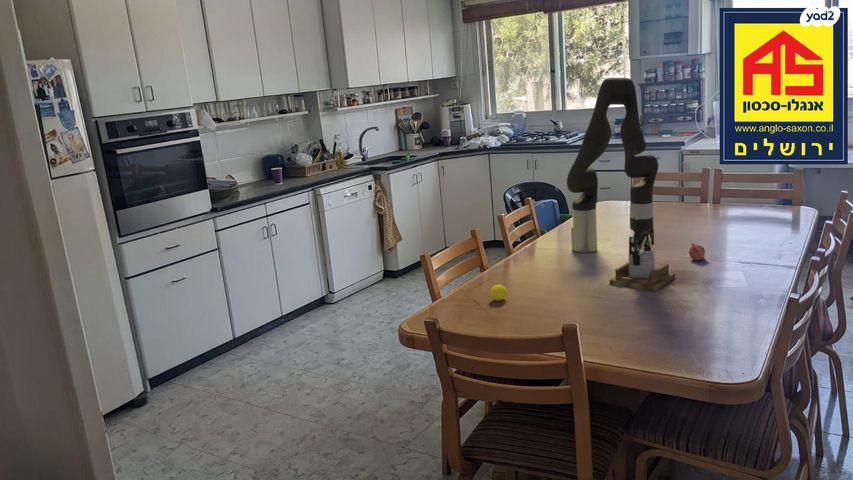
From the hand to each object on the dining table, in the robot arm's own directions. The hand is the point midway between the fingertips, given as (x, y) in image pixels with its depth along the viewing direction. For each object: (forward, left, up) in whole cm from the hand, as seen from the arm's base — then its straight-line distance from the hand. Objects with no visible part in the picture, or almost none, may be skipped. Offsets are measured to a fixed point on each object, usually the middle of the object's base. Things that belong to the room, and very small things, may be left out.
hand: (641, 262), depth 226 cm
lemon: (-32, -39, -7) cm, 51 cm away
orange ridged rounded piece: (+7, +31, -7) cm, 33 cm away
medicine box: (0, 0, -5) cm, 5 cm away
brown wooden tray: (0, 0, -7) cm, 7 cm away
